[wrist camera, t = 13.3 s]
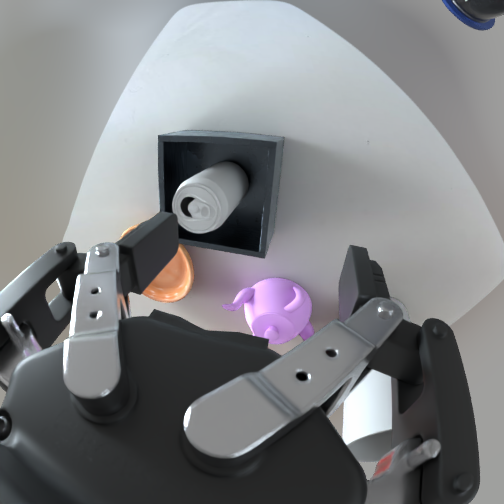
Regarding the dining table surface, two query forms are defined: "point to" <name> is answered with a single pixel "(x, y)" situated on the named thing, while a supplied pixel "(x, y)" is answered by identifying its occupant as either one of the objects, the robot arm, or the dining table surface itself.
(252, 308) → the teapot
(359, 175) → the dining table surface
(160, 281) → the saucer
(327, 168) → the dining table surface
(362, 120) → the dining table surface
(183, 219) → the beverage can
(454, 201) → the dining table surface
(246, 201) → the dark gray open box
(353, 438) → the cylinder vase
